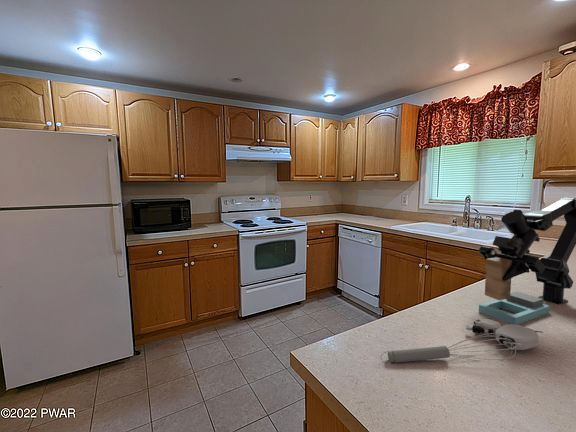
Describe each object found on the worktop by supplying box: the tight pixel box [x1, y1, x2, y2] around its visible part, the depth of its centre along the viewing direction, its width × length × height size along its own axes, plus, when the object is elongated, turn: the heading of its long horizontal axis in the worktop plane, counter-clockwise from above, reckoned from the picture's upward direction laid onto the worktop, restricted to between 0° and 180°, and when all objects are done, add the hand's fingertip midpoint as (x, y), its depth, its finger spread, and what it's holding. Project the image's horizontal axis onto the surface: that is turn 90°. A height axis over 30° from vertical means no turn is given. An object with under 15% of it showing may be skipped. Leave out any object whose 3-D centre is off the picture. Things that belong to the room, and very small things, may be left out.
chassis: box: [478, 291, 551, 325], centre depth 96 cm, size 20×11×4 cm, turn 114°
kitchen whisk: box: [380, 333, 517, 364], centre depth 71 cm, size 6×34×6 cm, turn 92°
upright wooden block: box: [484, 257, 512, 300], centre depth 96 cm, size 5×5×13 cm
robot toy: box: [465, 317, 544, 351], centre depth 79 cm, size 12×4×15 cm
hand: (495, 277), depth 95 cm, fingers closed on upright wooden block, 5 cm apart
